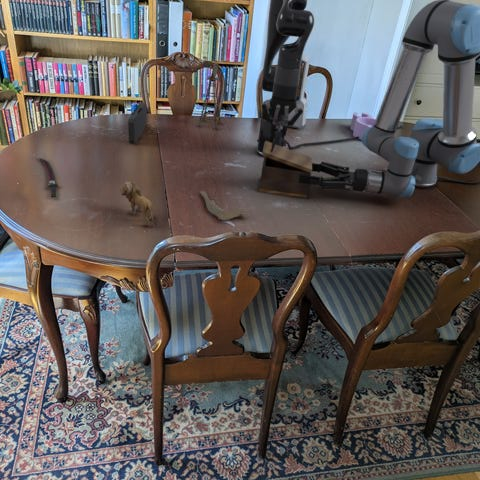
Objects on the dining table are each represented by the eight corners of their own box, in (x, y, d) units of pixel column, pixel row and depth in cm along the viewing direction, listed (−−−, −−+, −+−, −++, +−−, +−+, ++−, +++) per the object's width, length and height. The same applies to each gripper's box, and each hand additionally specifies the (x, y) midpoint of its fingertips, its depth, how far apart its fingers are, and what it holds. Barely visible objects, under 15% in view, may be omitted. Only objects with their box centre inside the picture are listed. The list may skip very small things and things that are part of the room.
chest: (259, 191, 157) (262, 166, 152) (261, 178, 166) (264, 155, 161) (306, 197, 156) (311, 173, 151) (306, 184, 165) (310, 161, 160)
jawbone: (230, 228, 136) (231, 222, 135) (181, 203, 146) (181, 197, 145) (250, 215, 142) (250, 210, 140) (201, 192, 152) (201, 187, 151)
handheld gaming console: (140, 124, 200) (139, 101, 194) (146, 125, 200) (146, 101, 194) (127, 143, 180) (126, 118, 175) (135, 144, 180) (134, 119, 175)
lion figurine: (118, 210, 138) (116, 182, 133) (132, 204, 141) (131, 177, 137) (151, 229, 130) (150, 201, 126) (165, 223, 134) (165, 195, 129)
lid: (261, 155, 150) (271, 130, 145) (264, 144, 159) (273, 120, 154) (310, 173, 151) (321, 149, 147) (310, 161, 160) (320, 138, 155)
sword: (61, 197, 141) (61, 193, 140) (50, 198, 139) (50, 194, 139) (49, 160, 164) (48, 156, 163) (39, 160, 163) (39, 157, 162)
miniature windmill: (216, 129, 203) (221, 57, 187) (197, 126, 204) (200, 54, 188) (221, 123, 211) (226, 53, 194) (203, 120, 212) (206, 50, 195)
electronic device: (305, 125, 218) (316, 58, 202) (301, 130, 212) (313, 61, 196) (279, 120, 221) (289, 53, 205) (275, 124, 215) (284, 56, 199)
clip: (343, 126, 223) (346, 112, 219) (367, 127, 225) (371, 113, 221) (360, 142, 206) (364, 127, 202) (386, 142, 209) (390, 127, 205)
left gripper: (262, 81, 139) (255, 137, 149) (309, 88, 138) (299, 143, 148) (264, 75, 145) (258, 129, 155) (309, 81, 145) (299, 134, 154)
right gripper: (366, 206, 148) (297, 196, 149) (360, 176, 167) (298, 168, 168) (372, 185, 144) (301, 175, 145) (365, 157, 163) (301, 149, 164)
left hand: (278, 135), depth 151 cm, fingers closed on lid, 2 cm apart
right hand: (299, 171), depth 157 cm, fingers closed on chest, 10 cm apart
